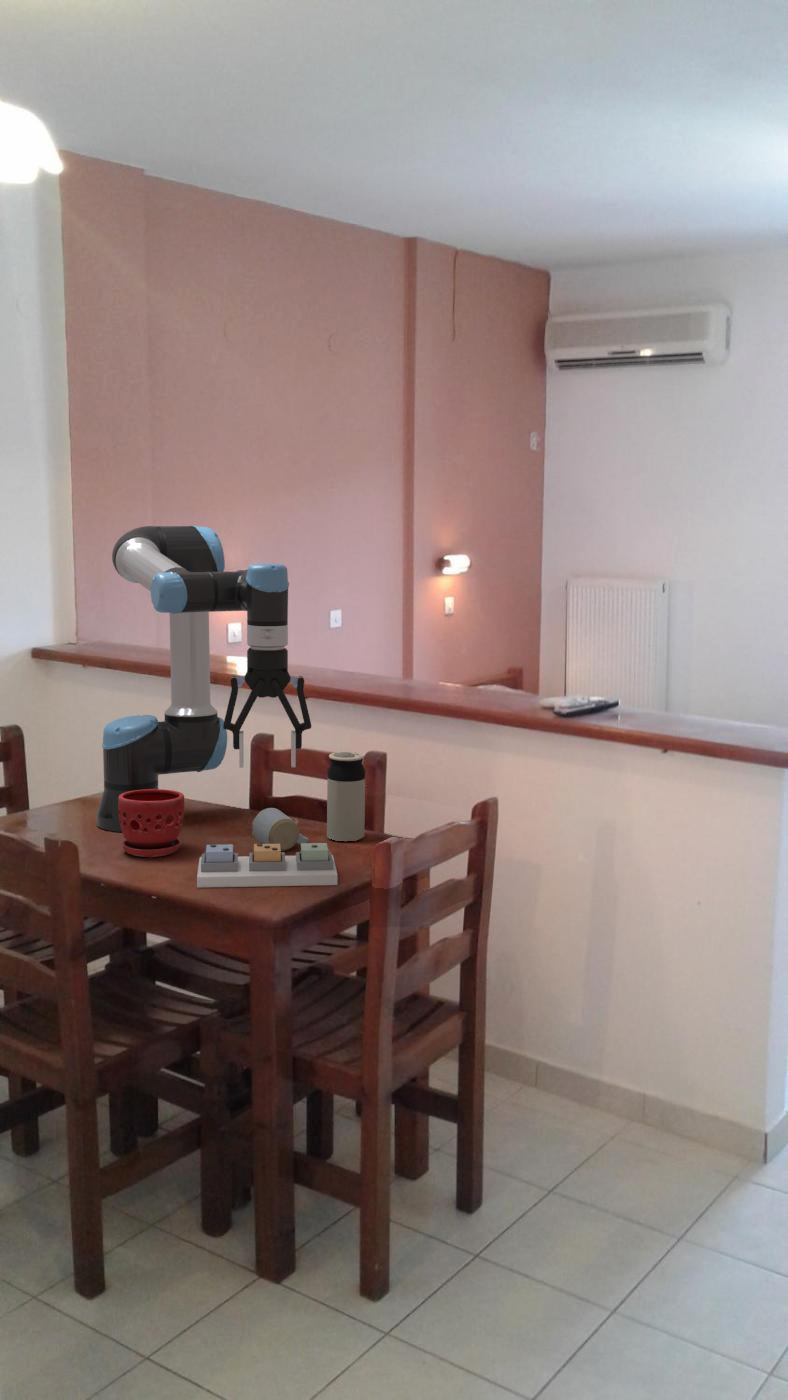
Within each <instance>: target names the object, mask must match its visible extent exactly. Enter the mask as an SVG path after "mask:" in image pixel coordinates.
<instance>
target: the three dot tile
mask: <svg viewBox="0 0 788 1400" xmlns="http://www.w3.org/2000/svg"><path fill="white" fill-rule="evenodd" d="M281 852H282V851H281V849H280V844H263V843H254V844H253V853H254V862H262V861H281Z"/></svg>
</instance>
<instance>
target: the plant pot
mask: <svg viewBox="0 0 788 1400" xmlns="http://www.w3.org/2000/svg"><path fill="white" fill-rule="evenodd" d="M118 812H119V822H120V827H121V830H122V832H121V833H122V834H123V837H124V839H125V840H124V841H123V842H122V849H123V850H124V851H125V852H126V853H127V854H130V855H132V856H136V857H140V858H141V857H142V858H150V859H153V858H158V857H165V856H168V855H170V854H173V853H175V852H177V851H178V850H179V848H180V847H181V845H182V844H181V840H179V839H178V837H179V835H180V833H181V830H182V828H183V827H182V826H183V823H184V814H185V795H184V793H182V792H180V791H176V790H171V789H159V788H158V789H145V790H135V791H129V792H125V793H122V794H120V795H119V798H118ZM140 814H141V815H142V818H141V817H140ZM157 814H159V815H157ZM166 817H167V819H166Z"/></svg>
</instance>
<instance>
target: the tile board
mask: <svg viewBox="0 0 788 1400" xmlns="http://www.w3.org/2000/svg"><path fill="white" fill-rule="evenodd" d="M285 852H286V851H281V861H262V862H254V852H248V853H249V856H247V855H246V856H244V855H243V856H239V853H238V852H233V862H206V853H202V854H201V856H199V861H198V866H197V875H196V888H198V889H199V888H201V889H202V888H238V887H239V888H240V887H241V888H246V887H247V888H249V887H254V888H255V887H292V886H293V887H295V886H296V887H297V886H298V887H299V886H302V887H303V886H338V870H337V866H336V862H335V857H334V855H333V854H332V851H328V860H324V861H302V858H301V851H296V852H295V855H286V853H285Z"/></svg>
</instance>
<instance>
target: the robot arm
mask: <svg viewBox="0 0 788 1400" xmlns="http://www.w3.org/2000/svg"><path fill="white" fill-rule="evenodd" d="M111 556H112V557H111V559H112V560H111V561H112V564H113V565H112V566H113V567H114V570H115V571H116V572H117V574H118V575H119V576H120V577H122V578H123V579H124V580H126V581H128V582H130V583H132V584H139V585H140V586H142V587H143V588H145V589H146V590H148V591H149V592H150V598H151V603H152V605H153V608H154V610H155V611H157V612H158V613H163V614H165V613H168V614H169V644H170V645H169V649H170V650H169V653H170V654H169V656H170V657H169V658H170V700H171V701H170V702H171V703H170V706H168V708H167V709H166V710H165V711H164V721H159V720H158V718H157V717H156V716H154V715H152V714H151V715H150V714H143V715H139V714H137V715H129V716H124V717H121V718H116V719H114V720H112V721H110V722H108V723H107V724H106V725H105V727H104V729H103V733H102V735H103V736H102V745H101V748H102V753H103V754H102V755H103V759H102V760H103V761H102V762H103V792H102V795H101V798H100V802H99V805H98V808H97V812H96V816H95V817H96V826H97V827H98V828H100V829H103V830H106V831H110V832H111V831H112V832H121V833H122V830H121V827H120V822H119V812H118V798H119V795H120V794H122V793H125V792H129V791H135V790H145V789H159V775H169V774H178V773H192V772H197V773H200V772H203V771H211V770H215V769H217V768H219V766H220V765H221V764H222V762H223V760H224V758H225V756H226V751H227V748H228V732H227V731H230V732H231V733H232V737H233V738H232V748H233V749H234V750H239V753H238V754H239V759H238V761H239V762H238V763H239V768H240V769H242V768H243V769H244V758H245V755H244V753H245V752H244V730H241V729H242V727H243V725H244V723H245V721H246V719H247V717H248V715H249V713H250V711H251V709H253V706H254V704H255V702H256V700H257V698H262V699H263V698H267V697H268V698H273V699H274V698H277V697H278V699H279V701H280V703H281V705H282V707H283V708H284V711H285V713H286V715H287V716H288V718H289V721H290V723H291V724H292V727H293V728H294V730H291V731H290V732H291V733H290V735H291V736H290V739H291V740H290V742H291V743H290V746H291V748H290V762H291V763H290V766H291V768H297V767H296V765H297V764H296V762H297V760H296V759H297V758H296V757H297V756H296V755H297V753H296V752H297V751H296V750H301V748H302V747H303V746H302V745H303V744H302V743H303V740H302V739H303V732H305V731H306V730H311V728H312V723H311V722H312V721H311V717H310V714H309V710H308V709H309V708H308V705H307V704H308V703H307V701H306V696H305V693H304V692H305V691H304V687H305V679H304V676H303V675H298V676H292V675H291V674H290V673H289V670H288V669H289V668H288V667H289V665H288V664H289V662H288V661H289V651H288V649H287V646H288V644H289V635H288V634H289V622H288V621H289V620H288V617H289V586H290V583H289V576H288V575H289V574H288V573H289V572H288V568H287V567H286V565H285V564H283V563H267V562H266V563H264V562H263V563H261V562H260V563H259V562H258V563H251V564H249V565H248V567H247V569H237V570H235V571H224V570H225V569H226V568H225V567H226V566H225V561H226V560H225V554H224V548H223V545H222V542H221V540H220V537H219V535H218V534H217V532H216V531H215V530H214V529H213V528H211V527H207V526H199V525H198V526H197V525H182V526H180V525H177V526H175V525H173V526H171V525H170V526H168V525H167V526H165V525H160V526H158V525H157V526H156V525H155V526H154V525H146V526H145V525H143V526H138V527H136V528H133V529H131V530H129V531H127V532H125V533H124V534H123V535H122V536H120V537H119V539H118V540H117V541H116V542H115V544H114V546H113V549H112V553H111ZM210 612H214V613H215V612H217V613H218V612H247V613H246V616H247V618H246V620H247V622H246V632H247V633H246V635H247V636H246V639H247V640H246V644H247V646H248V648H247V653H246V657H247V659H246V662H247V663H246V666H247V668H246V669H247V670H246V673H245V674H244V675H243V676H241V675H240V676H235V675H232V676H231V677H230V686H231V687H230V688H231V691H230V696H229V698H228V704H227V708H226V711H225V716H224V719H223V718H221V717H219V716H218V710H217V709H216V708H215V707H214V706H213V705H212V702H211V667H210V666H211V665H210V664H211V663H210V661H211V660H210V659H211V657H210V654H211V653H210ZM244 683H246V685H247V686H248V687H249V689H250V690H251V691H250V693H249V695H248V697H247V700H245V703H244V705H243V707H242V709H241V711H240V713H239V715H238V716H237V718H236V720H235V723H232V720H233V715H234V711H235V706H236V702H237V699H238V694H239V689H241V688H242V687H243V684H244ZM290 683H291V684H292V686H293V688H294V689H296V692H297V694H296V695H297V696H298V697H297V698H298V701H299V707H300V710H301V715H302V720H303V722H301V723H300V721H299V719H298V718H297V715H296V714H295V711H294V710H293V707H292V705H291V703H290V702H289V700H288V698H287V696H286V693H285V691H284V690H285V689H286V687H287V686H288V685H289V684H290ZM157 815H159V814H157ZM140 817H141V818H142V815H141V814H140ZM166 819H168V816H167V817H166Z"/></svg>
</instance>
